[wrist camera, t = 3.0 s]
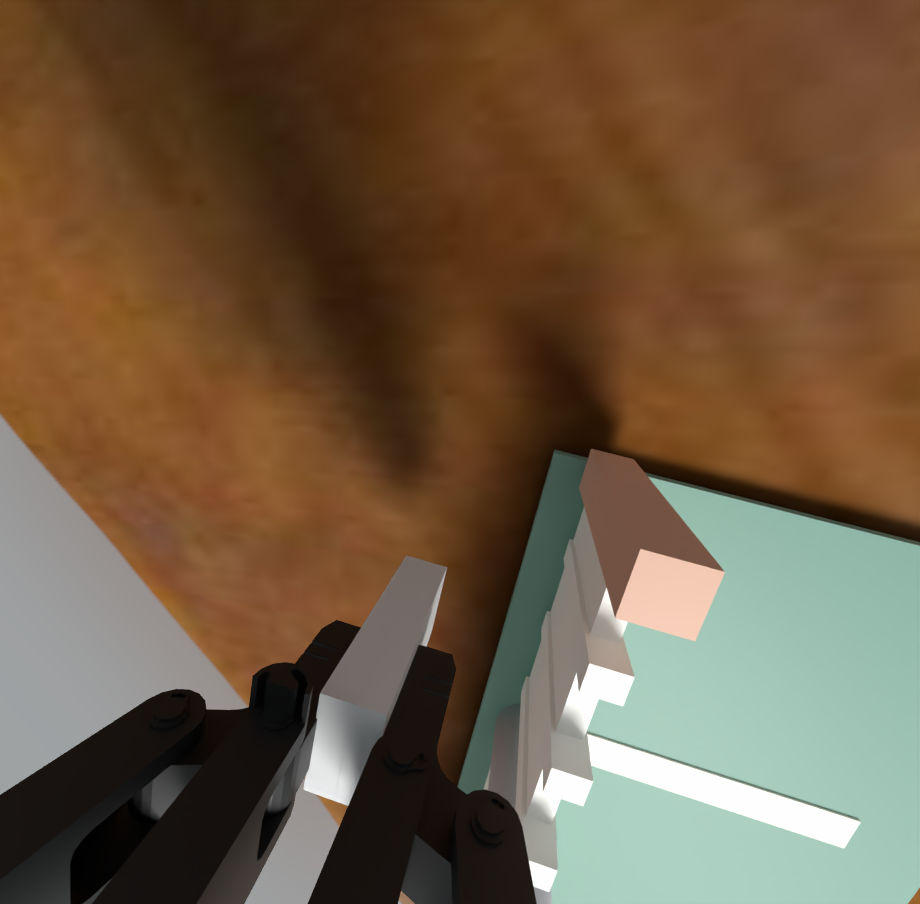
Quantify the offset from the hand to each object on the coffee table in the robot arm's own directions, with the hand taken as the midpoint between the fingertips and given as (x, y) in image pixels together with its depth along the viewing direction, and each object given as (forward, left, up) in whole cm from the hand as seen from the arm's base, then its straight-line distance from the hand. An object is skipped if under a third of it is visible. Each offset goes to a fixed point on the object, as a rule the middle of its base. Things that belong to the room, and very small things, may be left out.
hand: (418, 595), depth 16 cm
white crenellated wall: (0, +6, -3) cm, 6 cm away
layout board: (+7, +14, -4) cm, 16 cm away
